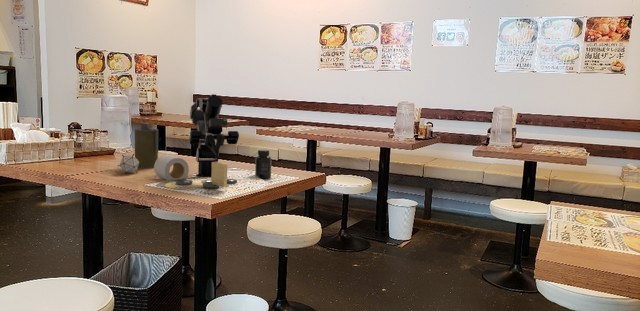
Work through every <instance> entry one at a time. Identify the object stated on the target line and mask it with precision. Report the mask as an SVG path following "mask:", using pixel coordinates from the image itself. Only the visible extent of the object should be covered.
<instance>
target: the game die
mask: <svg viewBox="0 0 640 311" xmlns="http://www.w3.org/2000/svg"><path fill="white" fill-rule="evenodd" d="M121 156H122V158H121V161H120V163H119V165H118V164H117V167H120V168H121V169H122V170H123V171H124V174H125V175H126V174H127V173H136V174H138V171H137V170H138V169H139V168H138V166H139V163H141V161H140V162H139V161H138V160H137V159H136V158H135V153H133V154H132V155H124V154H122V155H121Z"/></svg>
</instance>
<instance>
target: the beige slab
mask: <svg viewBox="0 0 640 311" xmlns="http://www.w3.org/2000/svg"><path fill="white" fill-rule="evenodd" d="M210 178H211V179H210V181H211V182H204V183H202V188H203V189H206V190H217V189H220V187H223V188H226V187H228V184H227V179H228V164H227V163H221V162H219V161H218V162H212V174H211V177H210Z"/></svg>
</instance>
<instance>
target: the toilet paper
mask: <svg viewBox="0 0 640 311" xmlns="http://www.w3.org/2000/svg"><path fill="white" fill-rule="evenodd" d="M171 167H172V170H171ZM153 170H154V173H155V176H157V177H158V178H159V179H162V180H167V181H173V180H175V181H177V180H187V179H186V178H187V177H188V176H189V171H190V168H189V164H188V162H187V161H186V160H185V159H183V158H181V157H177V156H174V155H171V154H163V155H160V156H158V159H157V160H156V162H155V164H154V168H153ZM170 170H171V172H170Z"/></svg>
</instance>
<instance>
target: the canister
mask: <svg viewBox="0 0 640 311" xmlns="http://www.w3.org/2000/svg"><path fill="white" fill-rule="evenodd" d="M139 125H140V128H134V129H133V130H134V157H135V158H136V159H137V160H138V161H139V162H140V161H141V163H139V166H138V168H137V169H154V164H155V162H156V160H157V159H158V158H159V129H158V128H153V127H152V123H151V122H149V123H148V122H140V124H139Z"/></svg>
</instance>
